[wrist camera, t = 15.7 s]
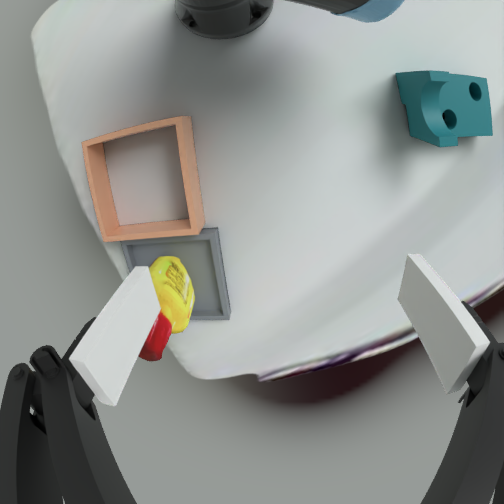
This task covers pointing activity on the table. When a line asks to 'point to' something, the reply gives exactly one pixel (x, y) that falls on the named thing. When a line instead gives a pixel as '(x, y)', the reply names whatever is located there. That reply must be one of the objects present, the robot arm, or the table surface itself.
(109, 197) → the holder
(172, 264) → the bottle
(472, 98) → the teal l-shaped bracket
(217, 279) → the tray
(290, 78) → the table surface
